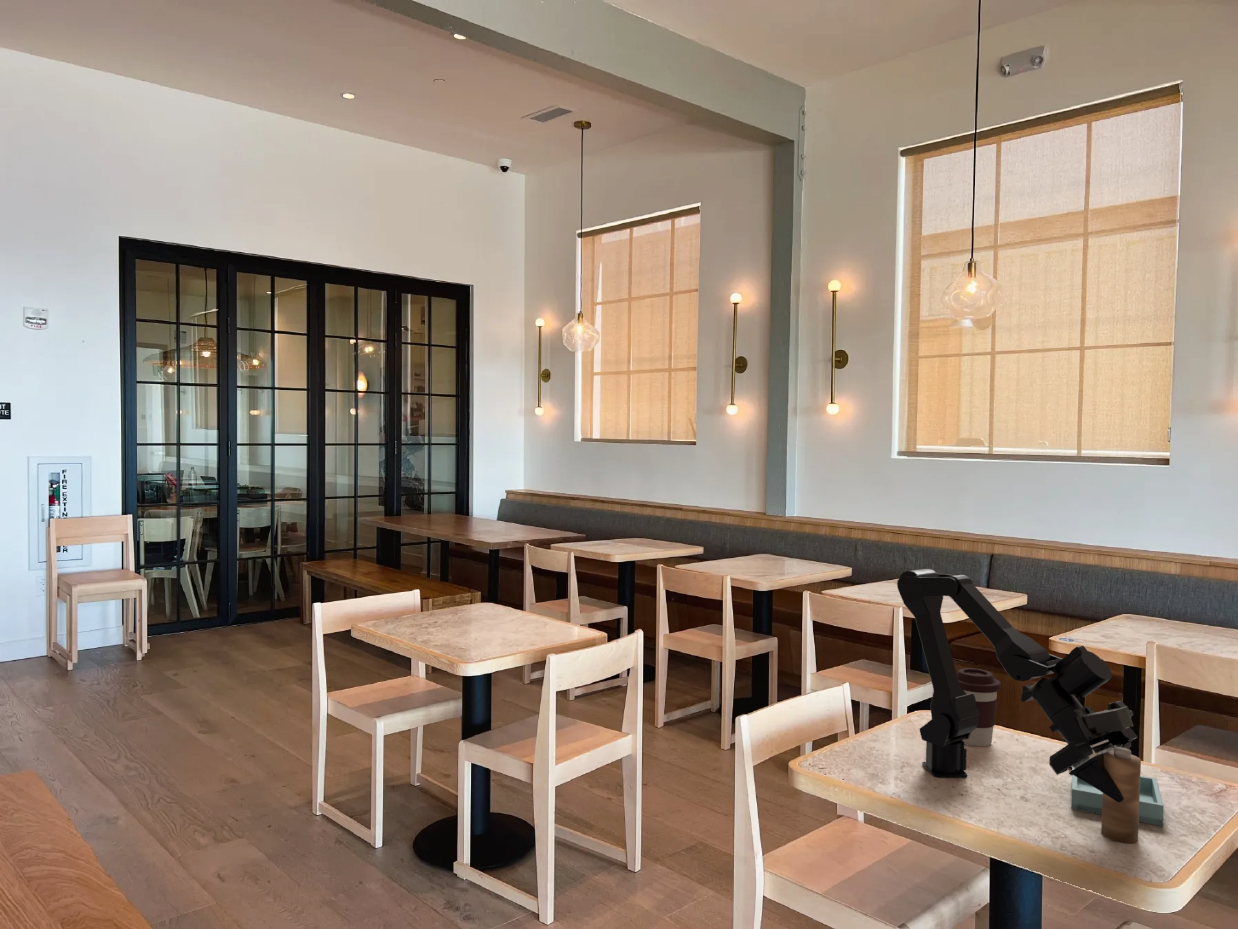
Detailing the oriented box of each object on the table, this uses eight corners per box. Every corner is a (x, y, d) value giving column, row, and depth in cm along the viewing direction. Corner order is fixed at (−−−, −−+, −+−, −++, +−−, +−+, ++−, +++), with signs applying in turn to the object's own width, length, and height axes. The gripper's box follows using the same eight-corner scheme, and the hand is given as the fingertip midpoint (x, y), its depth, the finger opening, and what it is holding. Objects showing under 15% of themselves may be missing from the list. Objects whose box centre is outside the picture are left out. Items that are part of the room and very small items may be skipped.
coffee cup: (993, 753, 178) (996, 681, 178) (943, 743, 184) (945, 673, 183) (1002, 739, 187) (1004, 670, 186) (954, 730, 192) (956, 663, 192)
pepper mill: (1113, 843, 139) (1116, 755, 138) (1094, 828, 144) (1097, 744, 143) (1145, 843, 139) (1148, 756, 138) (1125, 829, 144) (1128, 744, 143)
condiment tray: (1071, 808, 152) (1072, 789, 151) (1071, 782, 164) (1072, 764, 163) (1162, 826, 145) (1163, 805, 145) (1156, 797, 157) (1156, 778, 157)
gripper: (1070, 695, 138) (1141, 786, 130) (1127, 678, 149) (1196, 762, 140) (1021, 729, 145) (1086, 819, 136) (1079, 711, 156) (1142, 793, 147)
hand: (1130, 797), depth 140 cm, fingers closed on pepper mill, 5 cm apart
